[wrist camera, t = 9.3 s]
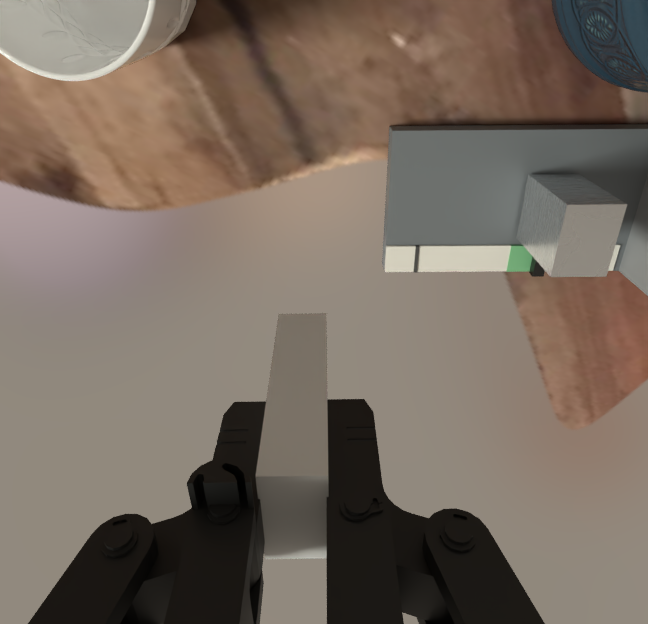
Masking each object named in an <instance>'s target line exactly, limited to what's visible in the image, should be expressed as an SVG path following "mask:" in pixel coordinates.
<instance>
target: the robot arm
mask: <svg viewBox="0 0 648 624" xmlns="http://www.w3.org/2000/svg"><path fill="white" fill-rule="evenodd" d="M187 486H188V491H189V496H190V500H191V505H192V508H191V509H190V510H188V511H187V512H185V513H183V514H181V515H179V516H176V517H174V518H171V519H167V520H164V521H161V522H157V523H154V524H151V523H150V522H149V520H148V519H147V518H145V517H143V516H141V515H138V514H124V515H120V516H117V517H113V518H112V519H110V520H108V521H106V522H105V523H103V524H102V525H100V526H99V527H98V528H97V529H96V530H95V532H94V533H93V534H92V535H91V536H90V538H89V539H88V540H87V542H86V543H85V544H84V546H83V547H82V549H81V550H80V551H79V553H78V554H77V556H76V557H75V558H74V560H73V561H72V563H71V564H70V565H69V567H68V568H67V570H66V571H65V572H64V574H63V576H62V577H61V578H60V580H59V581H58V582H57V584H56V585H55V587H54V588H53V589H52V591H51V592H50V594H49V595H48V596H47V598H46V599H45V601H44V602H43V603H42V605H41V606H40V608H39V609H38V611H37V612H36V613H35V615H34V616H33V617H32V619H31V620H30V622H29V623H28V624H260V614H261V603H262V594H263V584H264V583H263V574H262V564H263V554H265V559H309V558H310V559H313V558H327V624H404V623H403V615H402V612H403V613H406V614H409V615H412V616H415V617H417V619H418V622H419V624H545V623H544V622H543V620H542V618H541V617H540V615H539V613H538V612H537V610H536V608H535V607H534V605H533V603H532V602H531V600H530V598H529V597H528V595H527V593H526V592H525V590H524V588H523V587H522V585H521V583H520V582H519V580H518V578H517V577H516V575H515V573H514V572H513V570H512V568H511V567H510V565H509V563H508V562H507V560H506V558H505V557H504V555H503V553H502V552H501V550H500V548H499V547H498V545H497V543H496V542H495V540H494V538H493V537H492V535H491V533H490V532H489V530H488V528H487V527H486V526H485V525H484V524H483V523H482V521H481V520H480V519H478V518H477V517H475V516H474V515H472V514H471V513H469V512H466V511H463V510H459V509H443V510H441V511H438V512H436V513H434V514H433V515H432V516H431V517H430V518H425V517H422V516H418V515H415V514H411V513H409V512H406V511H403V510H402V509H400V508H399V507H397V506H396V505H394V504H393V503H392V502H391V501H390V500H389V499H388V497H387V495H386V494H385V492H384V489H383V485H382V478H381V470H380V462H379V454H378V446H377V438H376V430H375V422H374V415H373V411H372V410H371V408H370V407H369V405H368V404H367V403H366V401H365V400H364V399H347V400H346V399H342V400H338V399H337V400H327V336H326V313H322V314H279V315H278V322H277V330H276V337H275V343H274V351H273V357H272V365H271V371H270V378H269V385H268V392H267V400H266V402H234V403H233V404H232V406H231V407H230V408H229V409H228V410H227V412H226V413H225V414H224V415H223V420H222V424H221V428H220V433H219V436H218V440H217V445H216V448H215V452H214V457H213V460H212V461H210V462H208V463H206V464H204V465H202V466H200V467H199V468H198V469H197V470H195V471H194V472H193V473H192V475H191V476H190V478H189V480H188V482H187Z"/></svg>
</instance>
